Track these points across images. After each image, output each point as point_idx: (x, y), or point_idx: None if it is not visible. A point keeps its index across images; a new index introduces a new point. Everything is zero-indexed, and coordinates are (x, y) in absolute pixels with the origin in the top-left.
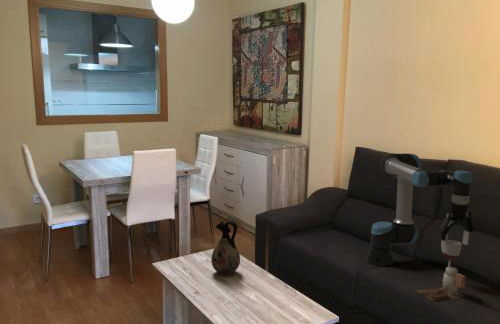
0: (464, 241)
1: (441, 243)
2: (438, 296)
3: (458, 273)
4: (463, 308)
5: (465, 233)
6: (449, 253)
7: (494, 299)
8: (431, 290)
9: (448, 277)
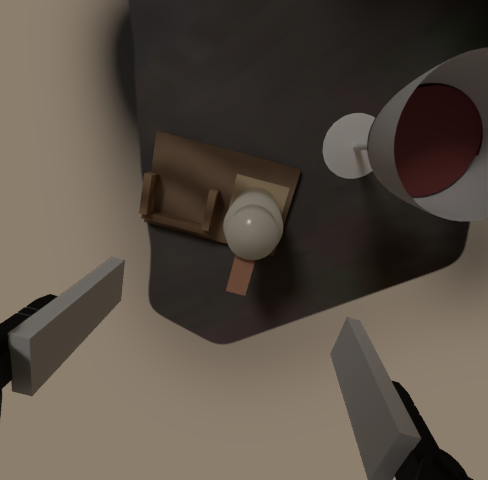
0: (346, 347)
1: (100, 267)
2: (167, 222)
3: (249, 265)
4: (202, 280)
5: (374, 422)
6: (372, 165)
7: (343, 301)
8: (211, 167)
9: (224, 230)
